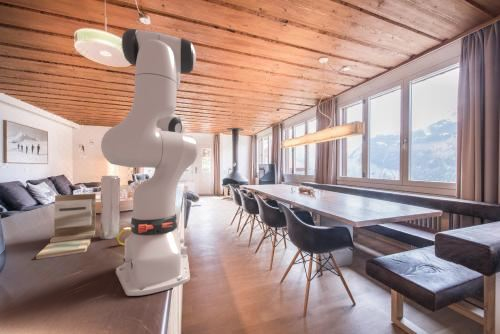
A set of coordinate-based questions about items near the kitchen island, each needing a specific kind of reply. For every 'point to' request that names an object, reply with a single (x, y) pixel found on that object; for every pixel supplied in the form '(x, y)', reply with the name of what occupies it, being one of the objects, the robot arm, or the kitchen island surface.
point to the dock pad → (64, 248)
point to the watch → (121, 232)
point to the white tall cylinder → (110, 207)
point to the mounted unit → (74, 217)
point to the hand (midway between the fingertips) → (139, 162)
